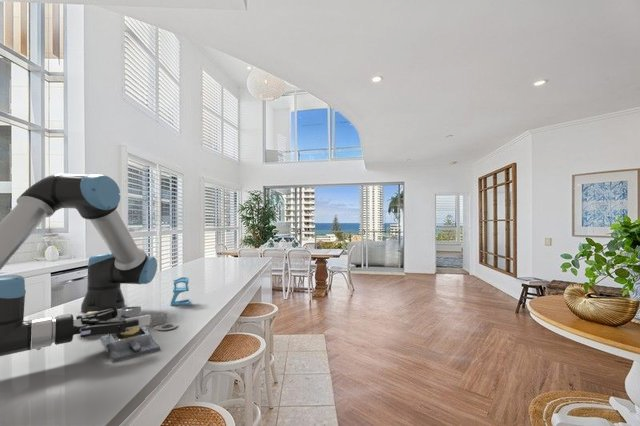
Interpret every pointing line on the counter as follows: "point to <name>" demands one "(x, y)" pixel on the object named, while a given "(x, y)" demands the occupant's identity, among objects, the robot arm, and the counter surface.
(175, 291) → the chair
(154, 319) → the bracket
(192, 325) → the counter surface
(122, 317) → the gold and grey cylinder
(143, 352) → the coupling board
